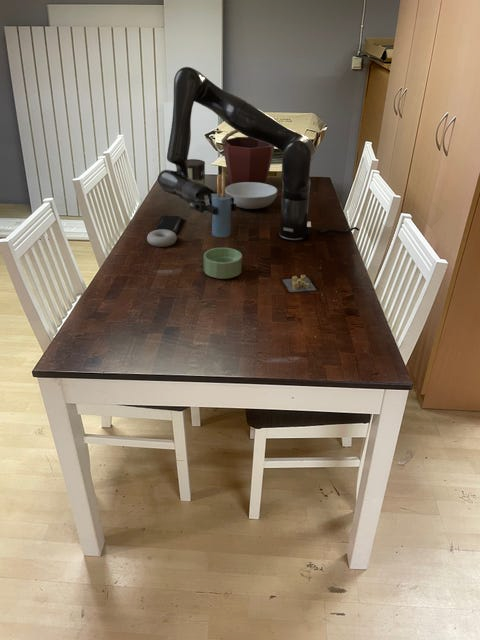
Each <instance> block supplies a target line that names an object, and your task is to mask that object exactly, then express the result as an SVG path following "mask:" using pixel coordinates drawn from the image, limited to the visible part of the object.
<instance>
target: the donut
mask: <svg viewBox="0 0 480 640" xmlns="http://www.w3.org/2000/svg"><path fill="white" fill-rule="evenodd" d="M177 239H178V237H177V233H176V234H175V233H174V232H173V231H170V230H165V229H160V230H155V231H154V230H152V231H150V232H149V233H148V234H147V236H146V240H147V243H148V244H150V245H151V246H153V247H157V248H165V247H170V246H172V245H174V244H175V243H176V242H177Z"/></svg>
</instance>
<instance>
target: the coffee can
mask: <svg viewBox="0 0 480 640" xmlns="http://www.w3.org/2000/svg"><path fill="white" fill-rule="evenodd" d="M187 164H188V178H190V179H192V180H194V181H198V182H200V183H202V184H204V185H206V168H205V167H206V162H205V161H204V160H203V159H198V158H197V159H196V158H189V159H187Z"/></svg>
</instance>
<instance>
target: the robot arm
mask: <svg viewBox="0 0 480 640" xmlns="http://www.w3.org/2000/svg"><path fill="white" fill-rule="evenodd" d="M195 103H197V104H199V105H200V106H202V107H205V108H207V109H209V110H210V111H212V112H213V113H214V114H215V115H217V116H218V117H219V119H221V120H222V121H223V122H224V123H225V124H227V125H228V126H229V127H231V128H232V129H233V130H237V131H239V132H238V133H240V134H242V135H243V136H244V137H250V138H252V139H255V140H258V141H261V142H265V143H268V144H270V145H272V146H274V148H276V149H277V150H278V151H280V152H282V157H281V159H282V160H281V181H282V189H281V190H282V191H281V192H282V193H281V205H280V222H279V235H278V236H279V238H280V239H283V240H285V241H291V242H292V241H293V242H295V241H302V240H305V241H306V240H307V234H308V235H311V234H312V233H311V232H312V230H314V231H318V233H320V234H323V233H324V234H325V233H326V232H328V231H332V232H337V233H342V234H343V233H344V234H347V233H350V232H352V231H354V230H356V231H358V232H359V231H360V228H359V227H357V226H354V227H351V228H349V229H346V230H342V229H337V228H333V227H332V228H331V227H329V228H326V229H324V230H322V229H320V228H319V227H315V226H312V221H308V220H309V204H310V195H311V179H310V175H311V163H312V161H313V160H314V158H315V157H316V147H315V146H316V145H315V143H313V141H312V140H311V139H310V138H308V137H307V136H305V135H304V134H301V133H299V132H297V131H294V130H292V129H290V128H288V127H286V126H285V125H283V124H282V123H280V122H279V121H277V120H276V119H274V118H273V117H271V116H269V114H267V113H265V112H264V111H262V110H260V109H259V108H258V107H256V106H255V105H254V104H252V103H250V102H248V101H247V100H245V99H243V98H241V97H239V96H237V95H235V94H232V93H230V92H228V91H226V90H224V89H222V88H220V87H219V86H218V85H216V84H215V83H214V82H212V81H211V80H210V79H209V78H207V77H206V76H205V75H204V74H203V73H201V72H200V71H198V70H197V69H195V68H194V67H190V66H184V67H181V68H180V69H178V70H177V72H176V73H175V75H174V77H173V103H172V104H173V105H172V106H173V107H172V118H171V119H172V120H171V128H170V134H169V140H168V147H167V154H166V160H167V162H169V163H171V164H174V165H175V169H176V170H171V169H163V170H161V171H160V172H159V174H158V176H157V185H158V187H159V188H160V189H161V190H162V191H164V193H168V194H172V195H175V196H178V197H179V198H181V199H183V200H185V202H187V203H188V204H189V208H190V209H191V210H194V211H196V212H198V213H201V214H203V213H204V212H205V213H210V214H211V215H212V214H214V215H218V208H217V207H215V206H213V205H212V195H213V194H216V193H215V192H214V190H213V189H212V188H211V187H210V186H208V185H206V184H205V185H204V184H202V183H200V182H198V181H194V180H192V179H190V178H188V164H187V159H188V158H189V153H190V146H191V141H192V139H191V136H192V121H191V120H192V113H193V107H194V104H195ZM226 194H227V193H226ZM236 211H237V206H236V204H235V203H234V198H233V197H232V206H231V212H236Z"/></svg>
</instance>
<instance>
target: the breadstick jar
mask: <svg viewBox="0 0 480 640" xmlns="http://www.w3.org/2000/svg"><path fill="white" fill-rule="evenodd" d="M216 177H217V178H216V193H215V194H213V195H212V205H213V206H215V207H217V208H218V215H214V214H212V213H211V235H212V236H213V237H216V238H228V237H230V236H231V235H232V210H231V206H232V196H231V195H229V194H226V193H225V188H226V173H225V172H221V175H220V174H218V175H217V176H216Z"/></svg>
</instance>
